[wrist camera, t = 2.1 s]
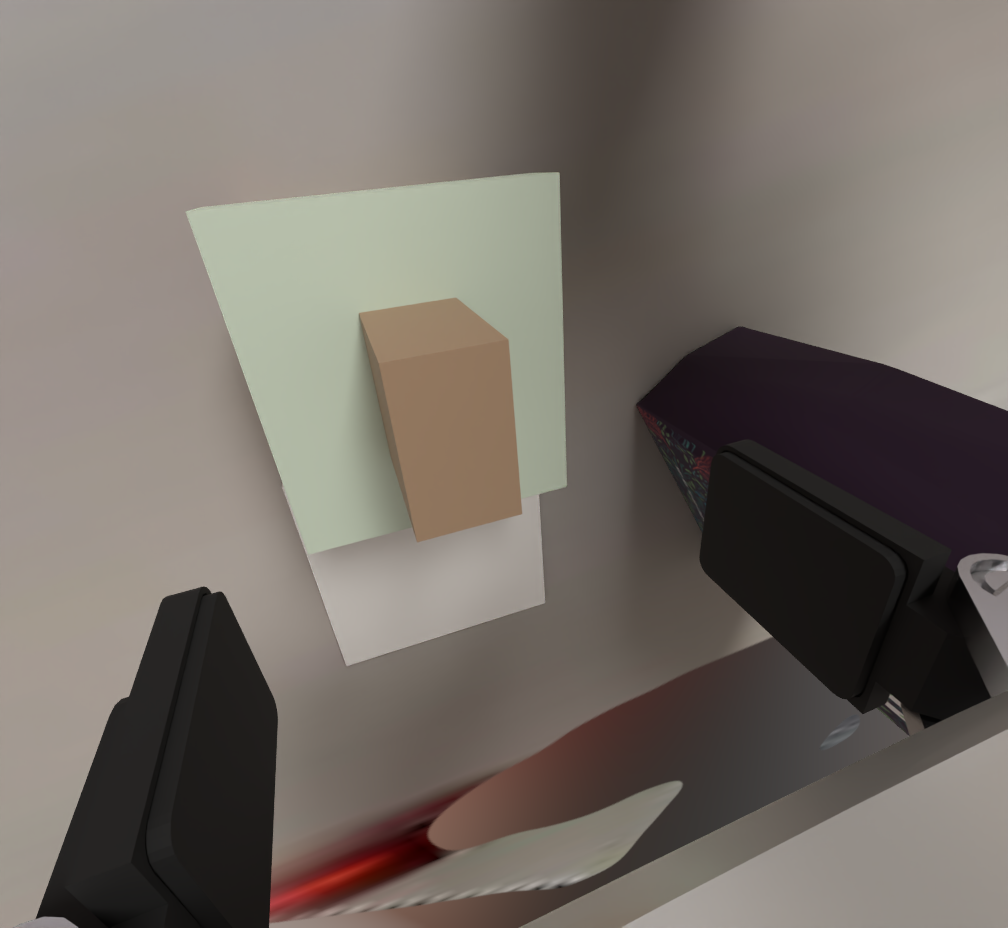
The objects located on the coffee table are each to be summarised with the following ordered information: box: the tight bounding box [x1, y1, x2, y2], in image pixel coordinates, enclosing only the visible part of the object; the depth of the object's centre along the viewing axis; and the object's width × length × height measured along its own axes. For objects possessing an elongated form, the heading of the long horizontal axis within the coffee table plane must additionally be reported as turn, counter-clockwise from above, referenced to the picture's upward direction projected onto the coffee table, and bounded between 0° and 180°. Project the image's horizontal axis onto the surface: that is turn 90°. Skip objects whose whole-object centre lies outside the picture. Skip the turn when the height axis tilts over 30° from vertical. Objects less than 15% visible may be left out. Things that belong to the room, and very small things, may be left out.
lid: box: [186, 172, 567, 555], centre depth 16 cm, size 11×10×7 cm
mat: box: [282, 483, 545, 666], centre depth 30 cm, size 13×13×1 cm
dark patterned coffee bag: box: [637, 327, 1008, 736], centre depth 22 cm, size 8×16×28 cm, turn 33°
